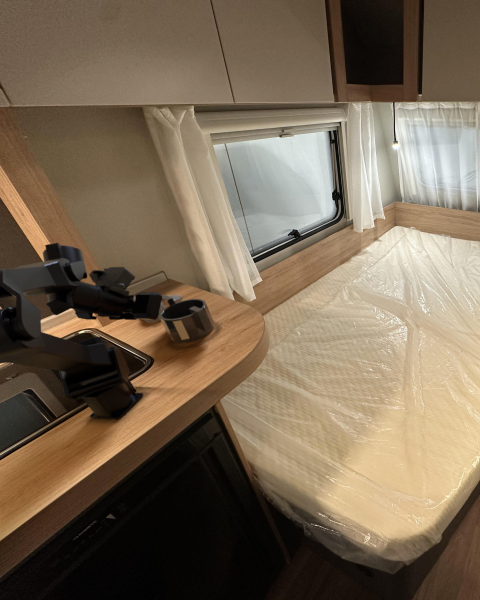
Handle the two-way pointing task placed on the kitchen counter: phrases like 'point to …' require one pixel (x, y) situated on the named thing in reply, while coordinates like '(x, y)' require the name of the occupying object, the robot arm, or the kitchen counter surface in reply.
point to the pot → (186, 319)
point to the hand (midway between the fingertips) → (150, 313)
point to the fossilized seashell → (176, 299)
